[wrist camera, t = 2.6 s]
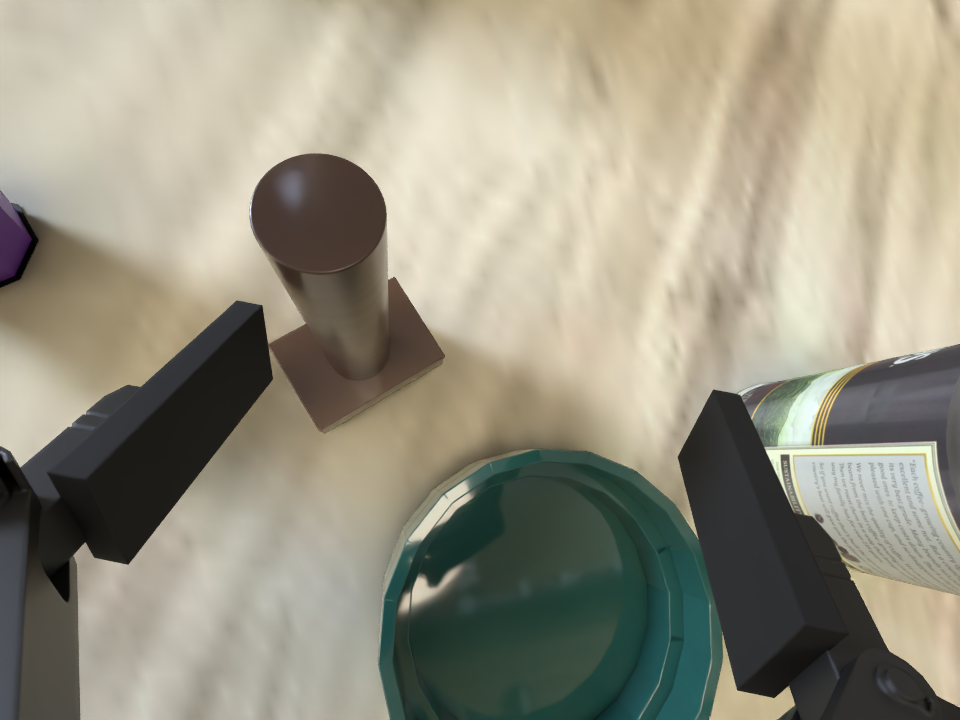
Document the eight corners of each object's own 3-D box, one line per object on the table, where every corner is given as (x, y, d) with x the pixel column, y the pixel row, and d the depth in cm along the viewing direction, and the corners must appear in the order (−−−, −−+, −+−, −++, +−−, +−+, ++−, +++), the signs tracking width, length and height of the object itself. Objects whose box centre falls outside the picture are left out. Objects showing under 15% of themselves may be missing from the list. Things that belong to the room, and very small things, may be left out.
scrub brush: (285, 362, 26) (109, 188, 10) (394, 302, 28) (397, 70, 12) (330, 436, 26) (224, 384, 10) (438, 371, 28) (504, 232, 11)
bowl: (323, 561, 25) (307, 585, 20) (563, 399, 29) (599, 387, 24) (488, 840, 24) (513, 937, 19) (714, 633, 28) (784, 670, 23)
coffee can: (711, 366, 31) (968, 290, 17) (857, 402, 32) (1200, 358, 19) (695, 539, 28) (977, 611, 15) (853, 571, 30) (1243, 662, 16)
